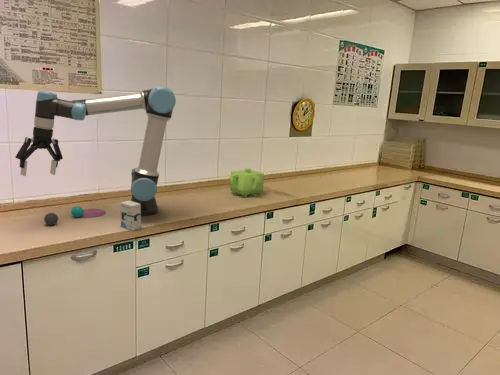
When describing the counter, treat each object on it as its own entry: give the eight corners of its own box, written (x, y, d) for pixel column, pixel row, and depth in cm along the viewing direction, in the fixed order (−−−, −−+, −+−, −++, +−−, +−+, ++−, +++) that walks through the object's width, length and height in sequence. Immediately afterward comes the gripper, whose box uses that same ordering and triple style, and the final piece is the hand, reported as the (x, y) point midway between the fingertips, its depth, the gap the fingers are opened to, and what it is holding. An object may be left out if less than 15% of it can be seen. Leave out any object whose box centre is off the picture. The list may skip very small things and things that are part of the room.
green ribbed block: (250, 188, 264) (252, 164, 260) (271, 196, 247) (273, 170, 243) (220, 192, 249) (221, 166, 245) (240, 200, 232) (242, 173, 228)
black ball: (61, 224, 173) (60, 212, 171) (50, 227, 168) (49, 215, 167) (52, 221, 175) (52, 210, 174) (41, 225, 170) (41, 213, 169)
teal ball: (86, 216, 185) (85, 205, 184) (76, 219, 180) (76, 208, 179) (78, 214, 187) (77, 203, 186) (68, 217, 182) (68, 206, 181)
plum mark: (111, 212, 194) (111, 212, 194) (89, 219, 182) (89, 218, 182) (92, 207, 200) (92, 207, 200) (69, 213, 188) (69, 213, 187)
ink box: (120, 226, 175) (119, 202, 172) (128, 224, 179) (128, 200, 176) (132, 231, 170) (132, 205, 168) (141, 228, 174) (141, 203, 172)
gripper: (63, 127, 177) (58, 171, 181) (9, 123, 155) (4, 173, 159) (74, 131, 174) (68, 175, 178) (19, 127, 152) (14, 178, 156)
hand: (38, 174), depth 169 cm, fingers open, 13 cm apart
